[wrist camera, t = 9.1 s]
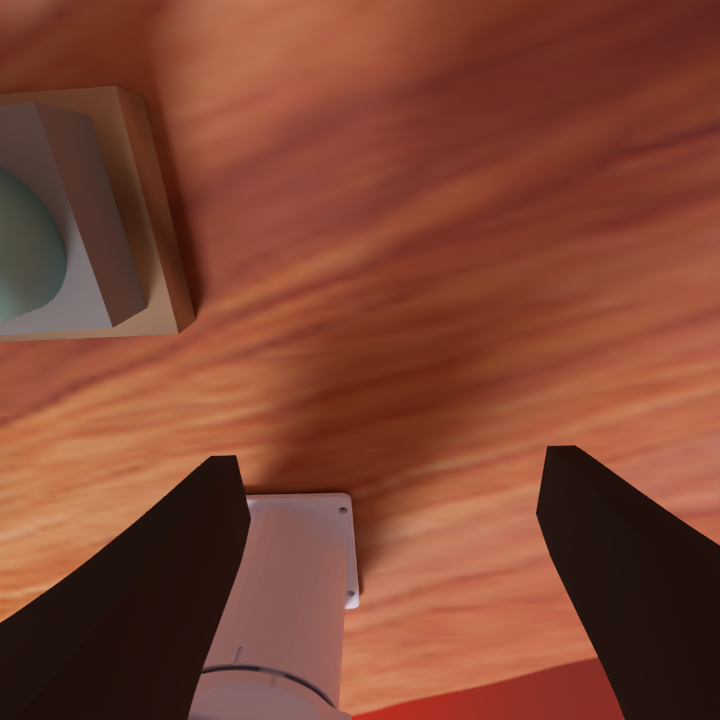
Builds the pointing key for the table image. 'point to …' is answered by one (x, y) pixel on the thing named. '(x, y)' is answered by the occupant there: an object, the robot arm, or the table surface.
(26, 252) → the teal domed cylinder
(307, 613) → the robot arm
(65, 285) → the tower top
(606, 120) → the table surface
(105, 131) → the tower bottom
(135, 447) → the table surface
